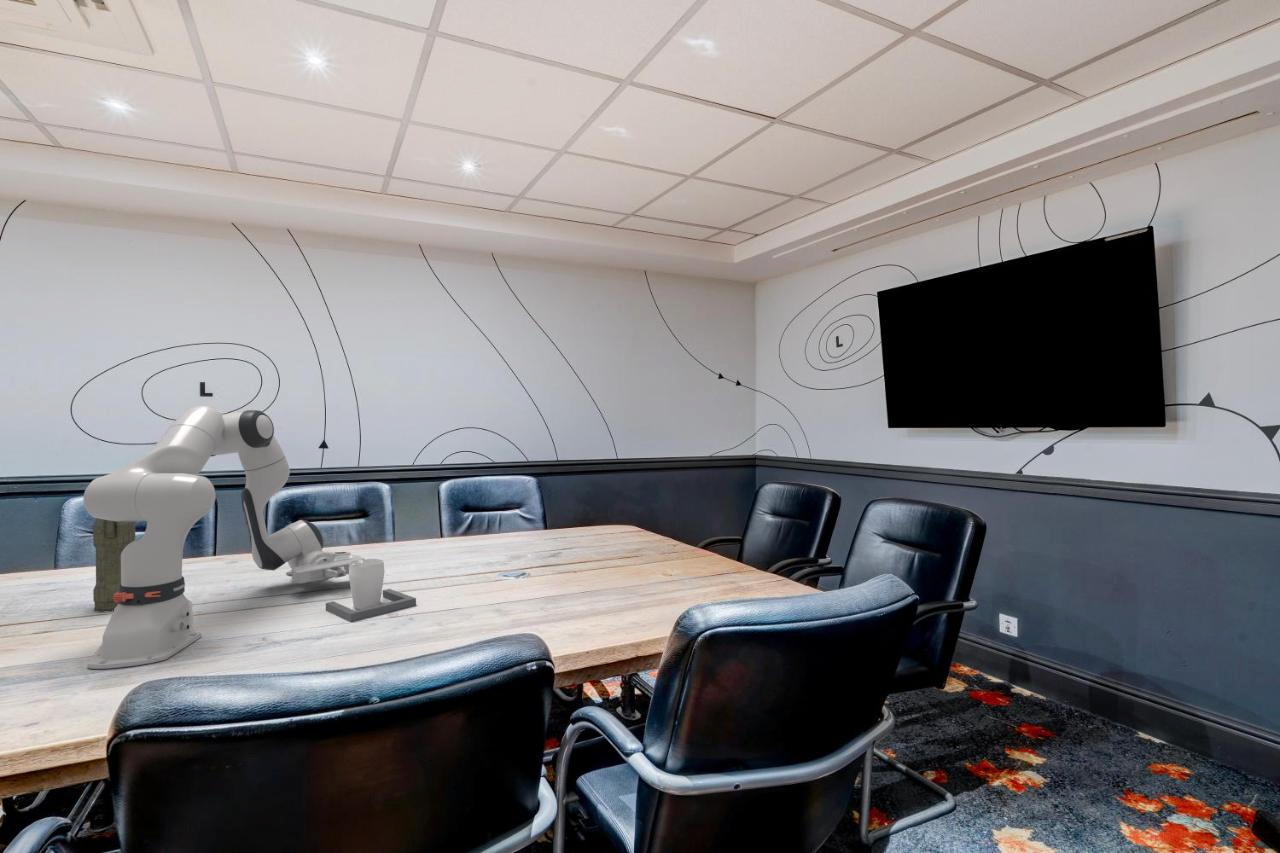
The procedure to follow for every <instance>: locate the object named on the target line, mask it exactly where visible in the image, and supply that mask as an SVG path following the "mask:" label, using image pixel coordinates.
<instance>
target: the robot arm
mask: <svg viewBox="0 0 1280 853" xmlns="http://www.w3.org/2000/svg"><path fill="white" fill-rule="evenodd" d="M274 433H275V426H274V423H273V421H272V419H271V418H270V416H268V415H267V414H266V413H265V412H264V411H262V410H257V409H251V410H247V409H246V410H245V411H239V412H229V413H222V414H221V412H220V411H218V410H216V409H215V408H214V407H210V406H207V405H195V406H192V407H191V408H189V409H187V410H186V411H184V412H182V414H181V415H180V416H179V417H178V418H176V419H175V421H173V422H172V424H170V426H169V427H168V429H167V430H166V431H165V432H164V433H163V434H162V437H160V439H159V440H158V441H157V442H156V444H155V445H154V446H153V447H152V448H151V449H150V450H149V451H147V452H146V453H145V454H143V455H142V456H140V457H139V458H137V459H136V460H134V461H133V462H131V463H129V464H128V465H126V466H124V467H122V468H120V469H119V470H116V471H113V472H111V473H108V474H106V475H104V476H103V475H102V476H99V477H97V478H95V479H93V480H91V482H90V483H89V484H88V485H87V487H86V488H85V490H84V492H83V506H84V508H85V510H86V512H87V513H88V514H89V516H91V517H93V518H94V519H96V518H99V519H104V520H110V521H116V522H131V521H135V522H146V528H145V531H144V533H143V535H142V536H141V537H138V538H135V540H134V541H133V542H131V543H129V544H128V545H127V546H126V547H125V548H124V550H123V551H122V553H121V584H120V585H119V589H118V592H117V593H115V594H114V598H113V599H114V600H113V601H114V602H117V603H118V605H117V607H116V608H115V609H114V611H112V614H111V616H110V619H109V620H108V623H107V624H106V627H105V629H104V632H103V635H102V641H101V644H100V645H99V647H98V648H97V650H96V651H95V652H94V654H93V655H92V656H91V658H90V660H89V661H88V663H87V667H86V668H87V669H93V670H98V669H99V670H101V669H103V670H105V669H119V668H125V667H135V666H140V665H141V666H142V665H148V664H152V663H157V662H161V661H165V660H168V659H169V658H171V657H173V656H174V655H176V654H177V653H178V652H180V651H182V650H183V649H184V648H186V647H187V646H189V645H191V644H193V643H194V642H196V641H197V640H198V639H200V638H201V637H202V632H201V631H200V630H195V626H194V624H195V623H194V611H193V603H192V601H191V600H189V599H188V598H187V597H186V595H185V594H184V593H185V592H186V591H185V587H186V582H185V577H184V576H183V556H184V555H183V553H184V545H185V543H186V542H185V541H186V539H187V536H188V534H189V533H190V531H191V529H192V528H193V527H194V525H195V524H196V523H197V522H198V521H199V520H201V519H202V518H203V517H205V516H206V515H207V514H208V513H209V512H210V511H211V510H212V508H213V507H214V505H215V503H216V496H217V495H216V489H215V487H214V485H213V483H212V481H211V480H210V479H209V478H208V477H206V476H204V475H203V476H202V475H199V473H200V472H201V471H202V470H203V468H204V467H205V466H206V464H207V463H208V462H209V459H210V457H216V456H221V455H229V454H236V453H237V454H238V457H239V460H240V463H241V466H242V468H243V471H244V473H245V486H244V488H243V489H242V491H241V493H240V498H241V506H242V512H243V514H244V515H243V516H244V520H245V524H246V528H247V533H248V537H249V542H250V549H251V550H250V552H251V557H252V560H253V561H254V563H255V564H256V566H257V567H258V568H259V569H261V570H265V571H276V570H277V569H279V568H281V567H282V566H283V565H285V564H286V563H287V564H288V566H289V568H290V569H291V570H289V571H287V572H286V573H285V574H286V576H287V577H291V581H293V583H295V584H299V585H300V584H305V583H311V582H316V583H323V582H327V581H328V580H330V579H333V578H334V579H338V578H341V577H346V576H347V575H349V564H350V563H351V562H353V561H357V560H363V559H365V558H364V557H361V556H359V555H355V554H351V552H349V551H338V552H337V551H323V549H324V537H323V536H322V533H321V531H320V530H319V528H318V526H316V525H315V524H314V523H312V522H311V521H308V520H305V519H299V520H297V521H295V522H293V523H291V524H289V525H286V526H285V527H284V528H281V529H279V530H278V531H275V532H273V533H272V534H270V535H269V534H268V531H267V526H266V522H265V516H264V509H265V506H266V505H267V504H268V502H269V501H270V499H272V498H273V496H275V494H277V493H278V492H279V491H280V490H281V489H283V487H284V486H285V485H286V483H287V481H288V479H289V477H290V473H291V472H290V471H291V470H290V466H289V463H288V460H287V458H286V456H285V454H284V451H283V449H282V447H281V445H280V444H279V442H278V440H277V439H276V437H275V435H274Z"/></svg>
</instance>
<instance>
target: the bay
mask: <svg viewBox="0 0 1280 853" xmlns="http://www.w3.org/2000/svg"><path fill="white" fill-rule="evenodd" d="M382 598H384V599H387V600H390V602H386V603H380V605H377V606H372V607H368V608H364V609H356V610H355V609H352V608H350V607H347V606H346V605H343V604H340V603H338V602H336V601H334V600H333V601H329V602H325V611H326V612H328V613H330V614H332V615H335V616H337V617H339V618H341V619H344V620H346V621H348V622H350V623H352V622H357V621H360V620H364V619H367V618H368V619H369V618H372V617H377V616H379V615H384V614H387V613H392V612H396V611H399V610H404V609H407V608H412V607H416V606H417V598H416V597H413V596H410V595H408V594H406V593H402V592H399V591H397V590H394V589H391V588H388V589H387V588H386V589H382Z"/></svg>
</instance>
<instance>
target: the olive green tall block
mask: <svg viewBox="0 0 1280 853" xmlns="http://www.w3.org/2000/svg"><path fill="white" fill-rule="evenodd" d="M94 519H95V520H94V522H93V524H92V545H93V546H94V549H95V585H94V587H93V591H92V592H93V594H92V595H93V599H92V600H93V602H94V610H96V611H110V612H113V611H112V610H114V609H115V608H116V607H117V605H118V603H117V602H114V601H113V600H114V599H113V598H114V594H115V593H117V592H118V589H119V585H120V584H121V553H122V551H123V550H124V548H125V547H126V546H127V545H128V544H129V543H131V542H133V541H134V540H136V521H131V522H116V521H110V520H104V519H99V518H94ZM96 611H95V612H96Z"/></svg>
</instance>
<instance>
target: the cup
mask: <svg viewBox="0 0 1280 853" xmlns="http://www.w3.org/2000/svg"><path fill="white" fill-rule="evenodd" d="M348 579H349V586H350V593H351V598H352V606H353V608H354V609H356V610H360V609H364V608H368V607H372V606H377V605H381V599H382V594H383V585H384V579H385V561H384V559H380V558H366V559H365V558H364V559H363V560H357V561H353V562H351V563H350V564H349V574H348Z"/></svg>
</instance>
